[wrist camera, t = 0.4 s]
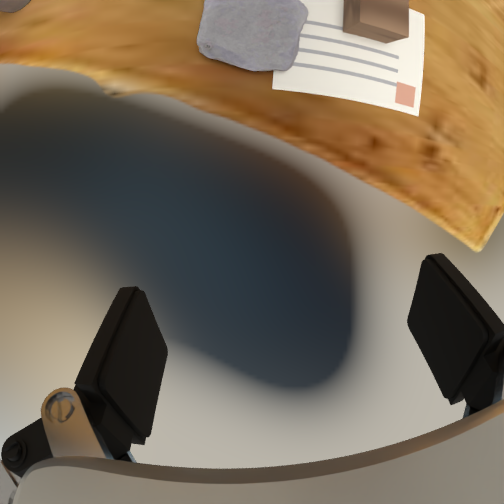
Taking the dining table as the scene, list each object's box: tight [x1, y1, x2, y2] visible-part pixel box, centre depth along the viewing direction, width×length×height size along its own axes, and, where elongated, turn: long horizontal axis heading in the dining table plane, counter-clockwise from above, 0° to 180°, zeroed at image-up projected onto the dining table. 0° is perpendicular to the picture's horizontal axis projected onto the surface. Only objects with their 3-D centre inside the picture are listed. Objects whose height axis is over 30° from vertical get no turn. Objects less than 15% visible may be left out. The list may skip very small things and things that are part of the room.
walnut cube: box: [343, 0, 409, 44], centre depth 23 cm, size 6×6×6 cm
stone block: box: [197, 0, 309, 71], centre depth 26 cm, size 12×5×10 cm
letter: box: [272, 0, 425, 116], centre depth 27 cm, size 16×20×1 cm
